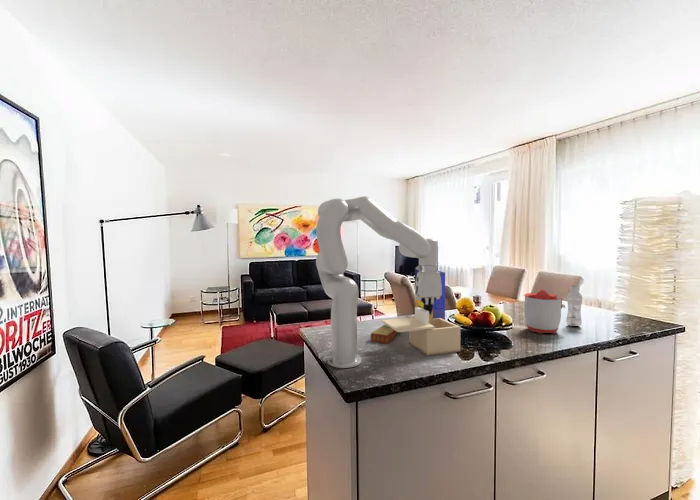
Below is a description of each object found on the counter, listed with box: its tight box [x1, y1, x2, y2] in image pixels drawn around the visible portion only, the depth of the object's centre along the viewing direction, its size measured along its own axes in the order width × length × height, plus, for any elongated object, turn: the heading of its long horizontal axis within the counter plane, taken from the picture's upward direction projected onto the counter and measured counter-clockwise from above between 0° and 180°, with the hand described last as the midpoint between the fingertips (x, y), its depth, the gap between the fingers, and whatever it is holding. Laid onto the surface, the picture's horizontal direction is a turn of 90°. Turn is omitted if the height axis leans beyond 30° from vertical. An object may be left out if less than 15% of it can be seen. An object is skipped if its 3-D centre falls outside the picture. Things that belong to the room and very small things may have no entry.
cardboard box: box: [408, 318, 461, 356], centre depth 141 cm, size 15×15×10 cm
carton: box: [370, 324, 401, 345], centre depth 155 cm, size 8×16×4 cm, turn 152°
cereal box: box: [414, 267, 446, 320], centre depth 162 cm, size 22×6×30 cm, turn 10°
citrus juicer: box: [523, 289, 566, 334], centre depth 162 cm, size 16×17×20 cm
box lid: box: [381, 307, 435, 333], centre depth 136 cm, size 16×16×6 cm
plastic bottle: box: [565, 285, 583, 327], centre depth 168 cm, size 6×7×20 cm
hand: (427, 313), depth 139 cm, fingers closed
